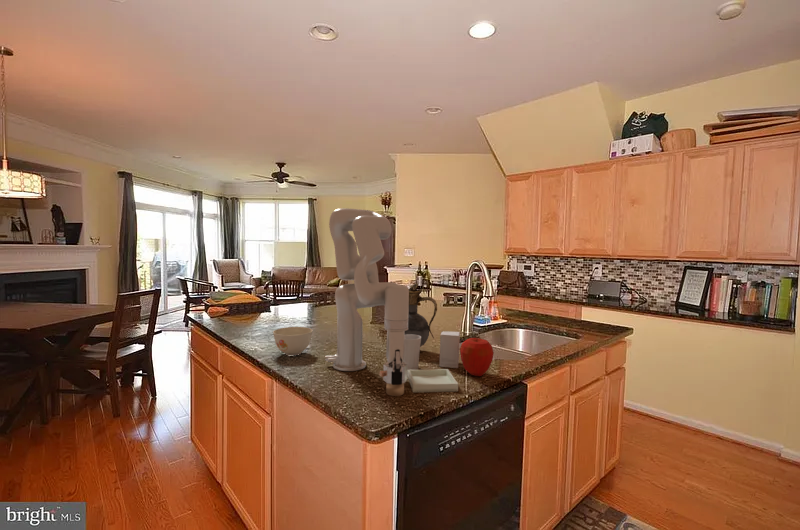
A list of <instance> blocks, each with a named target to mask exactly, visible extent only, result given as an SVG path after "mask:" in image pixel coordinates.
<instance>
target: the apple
mask: <svg viewBox="0 0 800 530" xmlns="http://www.w3.org/2000/svg"><path fill="white" fill-rule="evenodd" d="M494 353H495V352H494V349H493V345H492V344H491V342H489V341H488V340H487V339H483V338H479V337H478V336H476V337H470V338H467V339H466V340H464V341H463V342H462V343H461V345H460V346H459V355H460V360H461V362H462V366H463V368H464V370H465V371H466V372H468V373H469V375H471V376H475V377H482V376H483V375H484V374H486V373H487V372H488V370H489V369H490V366H491V364H492V363H493V358H494Z"/></svg>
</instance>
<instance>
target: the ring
mask: <svg viewBox="0 0 800 530" xmlns="http://www.w3.org/2000/svg"><path fill="white" fill-rule="evenodd" d="M390 364H392V362H390V363H388V361H386V362H385V363H383V370H381V371H379V376H380V377H382V379H383V380H382V381H384V382H385V383H389V384H391V376H392V371H393V370H392V366H390ZM401 364H402V383H404V384H405V383H406V382H407V381H408V377H407V364H406V363H404V362H403V363H401Z"/></svg>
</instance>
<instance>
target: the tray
mask: <svg viewBox="0 0 800 530" xmlns="http://www.w3.org/2000/svg"><path fill="white" fill-rule="evenodd" d="M407 381H408V382H409V386H410V388H411V391H412V393H446V392H448V393H450V392H459V382H458V381H457V380H456V378H455V377H454V376H453V374H452V373H451V371H450V370H449V369H448V368H439V369H438V368H432V369H429V368H427V369H423V368H422V369H417V370H407Z"/></svg>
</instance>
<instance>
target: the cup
mask: <svg viewBox="0 0 800 530" xmlns="http://www.w3.org/2000/svg"><path fill="white" fill-rule="evenodd" d="M420 344H421V336H419V335H413V334H406V335H405V339H404V363H406V364H407V370H419V362H420V352H421V347H420Z"/></svg>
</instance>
